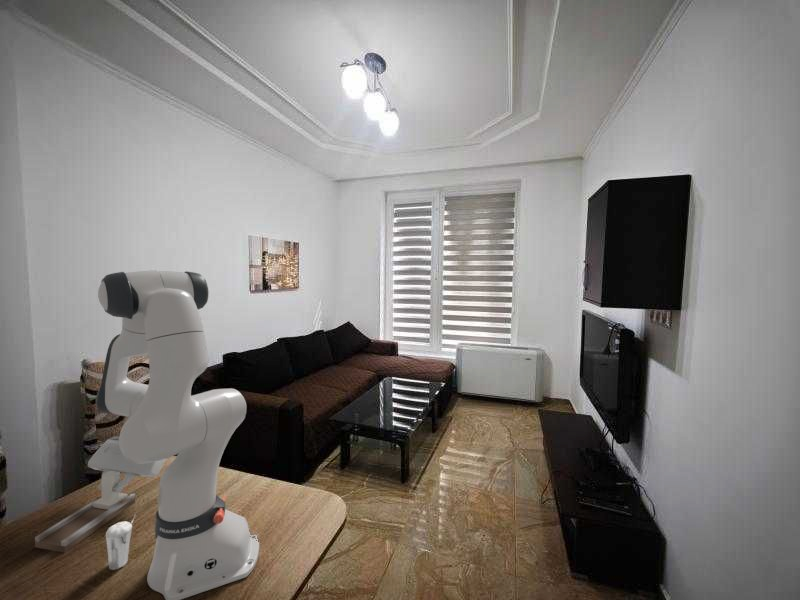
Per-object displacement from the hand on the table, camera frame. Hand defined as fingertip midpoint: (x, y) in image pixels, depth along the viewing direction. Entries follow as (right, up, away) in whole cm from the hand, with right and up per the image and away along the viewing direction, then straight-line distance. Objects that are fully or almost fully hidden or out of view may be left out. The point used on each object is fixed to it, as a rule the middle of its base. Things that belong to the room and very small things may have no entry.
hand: (108, 490), depth 91 cm
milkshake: (+16, -8, -16) cm, 24 cm away
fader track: (-1, -6, -5) cm, 7 cm away
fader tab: (0, -4, +1) cm, 4 cm away
